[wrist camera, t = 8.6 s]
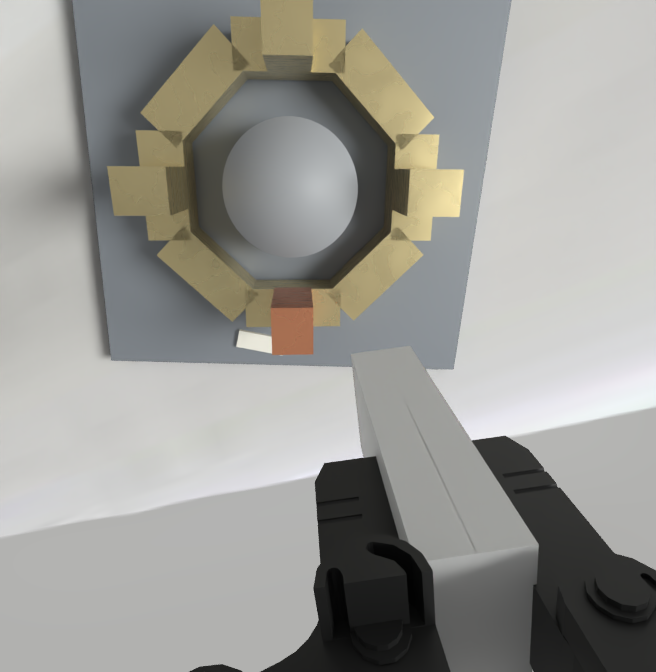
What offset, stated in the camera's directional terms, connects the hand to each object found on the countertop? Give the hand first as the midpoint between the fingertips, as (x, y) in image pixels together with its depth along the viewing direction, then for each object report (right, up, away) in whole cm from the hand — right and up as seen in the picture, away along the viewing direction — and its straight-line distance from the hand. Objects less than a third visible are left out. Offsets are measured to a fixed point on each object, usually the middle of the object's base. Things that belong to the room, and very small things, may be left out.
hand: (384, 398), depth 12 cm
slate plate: (-4, +11, +18) cm, 21 cm away
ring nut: (-4, +11, +17) cm, 20 cm away
